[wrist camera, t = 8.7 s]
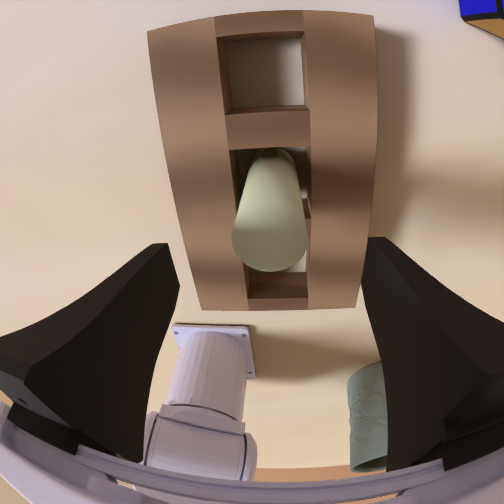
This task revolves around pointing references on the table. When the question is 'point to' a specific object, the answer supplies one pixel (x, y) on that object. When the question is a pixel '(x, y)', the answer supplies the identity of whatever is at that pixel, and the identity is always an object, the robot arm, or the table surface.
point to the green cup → (368, 420)
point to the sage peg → (270, 214)
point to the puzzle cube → (484, 14)
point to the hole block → (264, 136)
